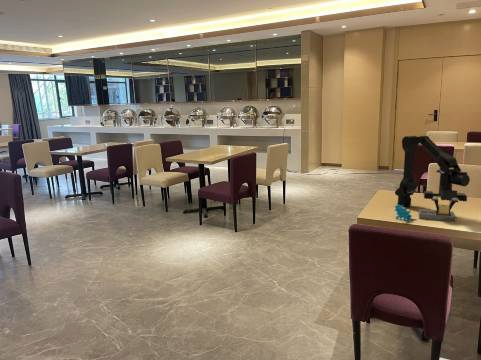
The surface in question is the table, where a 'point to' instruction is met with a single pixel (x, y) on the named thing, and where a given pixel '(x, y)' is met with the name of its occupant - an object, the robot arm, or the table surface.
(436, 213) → the panel
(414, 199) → the table surface
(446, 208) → the wooden block
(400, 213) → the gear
